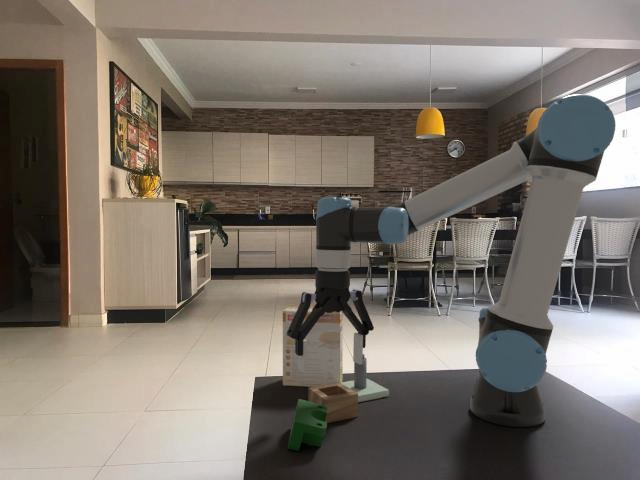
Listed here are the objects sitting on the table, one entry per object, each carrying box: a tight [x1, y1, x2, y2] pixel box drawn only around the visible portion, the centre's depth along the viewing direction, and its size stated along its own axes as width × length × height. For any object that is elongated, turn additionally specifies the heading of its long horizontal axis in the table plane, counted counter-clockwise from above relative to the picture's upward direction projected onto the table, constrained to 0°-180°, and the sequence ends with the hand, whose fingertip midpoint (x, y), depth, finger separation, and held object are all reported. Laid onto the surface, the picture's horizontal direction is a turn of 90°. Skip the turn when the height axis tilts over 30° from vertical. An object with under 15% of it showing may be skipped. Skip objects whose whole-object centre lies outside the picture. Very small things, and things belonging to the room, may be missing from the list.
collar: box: [307, 383, 359, 424], centre depth 102 cm, size 8×8×5 cm
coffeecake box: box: [282, 306, 344, 388], centre depth 122 cm, size 15×7×20 cm, turn 82°
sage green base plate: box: [341, 353, 390, 403], centre depth 114 cm, size 10×10×10 cm
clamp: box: [287, 398, 328, 452], centre depth 89 cm, size 12×6×9 cm, turn 173°
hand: (331, 366), depth 102 cm, fingers open, 13 cm apart
